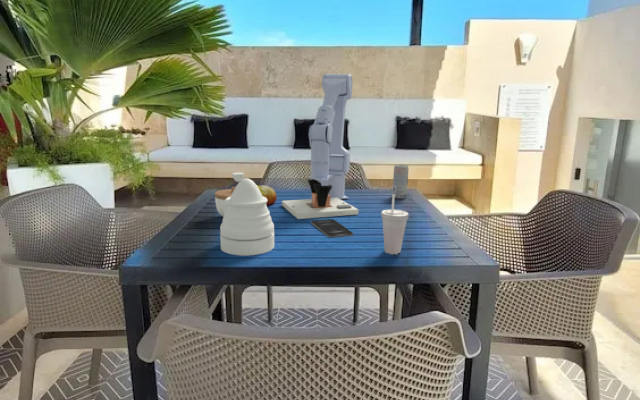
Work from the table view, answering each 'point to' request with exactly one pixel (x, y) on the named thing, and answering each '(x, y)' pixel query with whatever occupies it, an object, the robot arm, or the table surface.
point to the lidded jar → (222, 199)
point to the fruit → (268, 194)
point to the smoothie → (393, 228)
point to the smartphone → (331, 228)
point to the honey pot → (246, 220)
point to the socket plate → (304, 210)
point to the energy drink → (400, 181)
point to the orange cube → (315, 202)
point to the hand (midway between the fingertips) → (319, 203)
